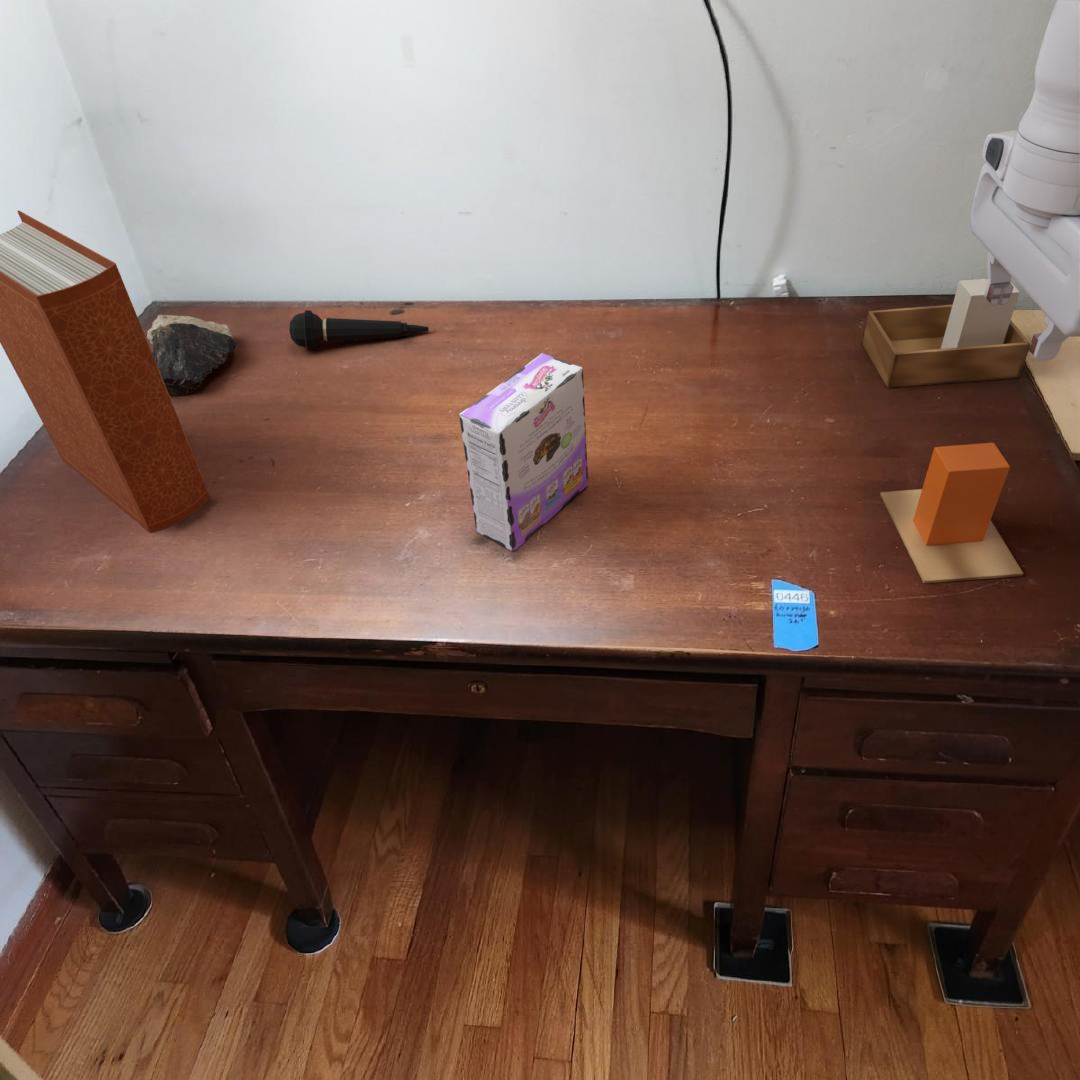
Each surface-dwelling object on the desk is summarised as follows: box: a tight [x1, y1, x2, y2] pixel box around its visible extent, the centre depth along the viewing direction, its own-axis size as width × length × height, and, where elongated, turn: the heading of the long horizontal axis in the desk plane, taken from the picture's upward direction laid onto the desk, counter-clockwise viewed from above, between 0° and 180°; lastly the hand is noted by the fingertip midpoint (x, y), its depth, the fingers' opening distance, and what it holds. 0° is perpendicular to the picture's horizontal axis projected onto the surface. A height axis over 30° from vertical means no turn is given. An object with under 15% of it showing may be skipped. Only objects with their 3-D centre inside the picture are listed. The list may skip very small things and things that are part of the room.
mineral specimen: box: [146, 314, 238, 397], centre depth 129 cm, size 13×7×15 cm
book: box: [0, 210, 211, 534], centre depth 103 cm, size 23×8×30 cm, turn 47°
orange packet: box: [913, 442, 1011, 545], centre depth 94 cm, size 6×4×10 cm, turn 92°
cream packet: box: [941, 278, 1020, 349], centre depth 118 cm, size 6×4×10 cm, turn 92°
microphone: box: [288, 309, 429, 351], centre depth 133 cm, size 6×6×20 cm
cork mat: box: [879, 488, 1024, 584], centre depth 97 cm, size 10×14×1 cm
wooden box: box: [861, 304, 1031, 389], centre depth 120 cm, size 17×11×5 cm, turn 92°
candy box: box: [458, 352, 589, 552], centre depth 99 cm, size 14×6×16 cm, turn 141°
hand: (1017, 327), depth 81 cm, fingers open, 8 cm apart
